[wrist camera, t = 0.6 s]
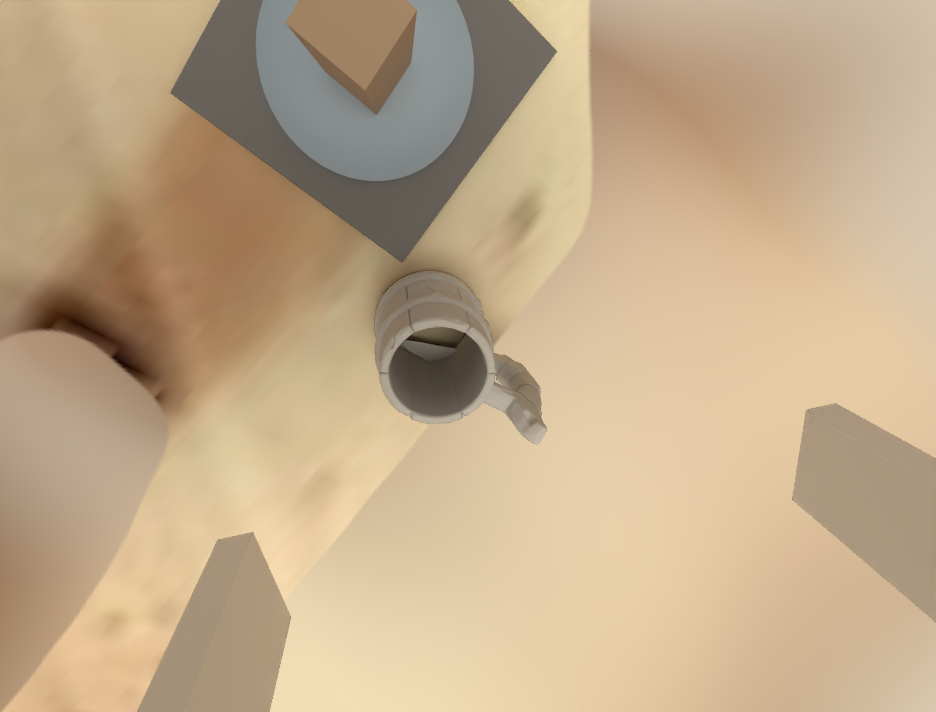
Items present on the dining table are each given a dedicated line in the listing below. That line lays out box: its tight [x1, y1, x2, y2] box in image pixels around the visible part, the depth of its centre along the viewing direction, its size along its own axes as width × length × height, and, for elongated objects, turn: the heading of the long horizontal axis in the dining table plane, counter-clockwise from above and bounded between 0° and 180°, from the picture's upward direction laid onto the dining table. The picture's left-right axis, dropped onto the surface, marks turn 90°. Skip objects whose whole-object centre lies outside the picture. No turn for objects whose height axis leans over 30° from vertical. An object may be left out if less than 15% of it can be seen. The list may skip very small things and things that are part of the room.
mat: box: [171, 0, 557, 262], centre depth 28 cm, size 16×16×1 cm
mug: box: [374, 271, 547, 445], centre depth 29 cm, size 8×12×12 cm, turn 60°
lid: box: [256, 0, 474, 181], centre depth 22 cm, size 12×12×11 cm
